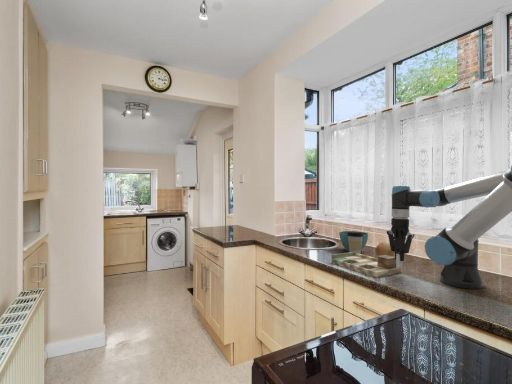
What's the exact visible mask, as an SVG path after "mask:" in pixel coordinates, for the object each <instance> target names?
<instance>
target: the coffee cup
mask: <svg viewBox="0 0 512 384" xmlns="http://www.w3.org/2000/svg"><path fill="white" fill-rule="evenodd" d="M349 231H350V232H348V234H347V236H348V243H349V251H350V252H356V253H359V254H362V253H361V252H362V251H361V248H362V237H363V234H362V231H358V230H357V231H353V230H349Z"/></svg>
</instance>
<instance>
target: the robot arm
mask: <svg viewBox="0 0 512 384" xmlns="http://www.w3.org/2000/svg"><path fill="white" fill-rule="evenodd" d="M510 165H511V166H510V168H509V169H508V170H504V171H501V172H497V173H494V174H490V175H489V174H488V175H486V176H482V177H478V178H474V179H471V180H467V181H465V182H464V181H463V182H461V183H457V184H453V185H449V186H446V187H442V188H438V189H411V187H410V186H409V185H394V186H393V187H392V188H391V189H392V190H391V217H392V218H391V228H390V229H389V230H386V234H387V237H388V242H389V244H390V247H391V251H393V252H394V257H395V260H396V267H397V268H401V269H402V268H403V266H404V263H403V262H404V261H405V255H406V254H409V252H410V249H411V246H412V241H413V238H414V237H415V234H414V233H411V232H410V229H409V227H410V219H409V218H410V207H418V208H425V209H427V208H436V207H444V206H447V205H450V204H453V203H454V204H455V203H457V202H462V201H467V200H471V199H476V198H480V197H484V198H483V199H482V200H481V201H480V202H478V203H477V204H476V205H475V206H474V207H473V208H472V209H471V210H470V211H468V212H467V213H466V214H465V215H464V216H463V217H462V218H461V219H459V221H457V222H456V223H455V224H454V225H453V226H446V227H444V228H443V230H441V231H440V232H438V234H436V235H434V236H430V238H428V239H427V240H426V241H425V243H424V252H425V255H426V256H427V257H428V258H429V260H430V261H432V263H434V264H436V265H441V266H443V267H442V269H441V272H440V274H439V280H440V282H441V283H444V284H446V285H448V286H452V287H456V288H461V289H462V288H463V289H469V290H479V289H482V288H483V286H484V282H483V279H482V276H481V273H480V271H479V266H478V265H479V264H478V263H479V262H478V261H479V241H480V240H479V239H480V238H481V237H483V236H484V235H485V234H486V233H488V231H490V230H491V229H492V228H494V226H496V225H497V224H498V223H500V221H502V220H503V219H504V218H506V217H507V216H508V215H510V214H511V213H512V164H510Z"/></svg>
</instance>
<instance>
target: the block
mask: <svg viewBox="0 0 512 384" xmlns="http://www.w3.org/2000/svg"><path fill="white" fill-rule="evenodd" d="M377 258H378V266H379V267H382V268H386V269H391V268H396V260H395V256H393V257H392V256H388V255H382V256H377Z"/></svg>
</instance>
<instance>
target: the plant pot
mask: <svg viewBox="0 0 512 384" xmlns="http://www.w3.org/2000/svg"><path fill="white" fill-rule="evenodd" d="M350 231H351V230H342V231H339V233H338V234H339V238H340V242H341V244H342V247H344V249H345V250H346V252H347V253H348V252H350V251H349V243H348V236H347V234H348V232H350ZM361 232H362V231H361ZM362 234H363V237H362V248H361V252H362V251H363V250H364V249H365V247H366V245H367V243H368V239H369V233H368V232H362Z"/></svg>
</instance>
